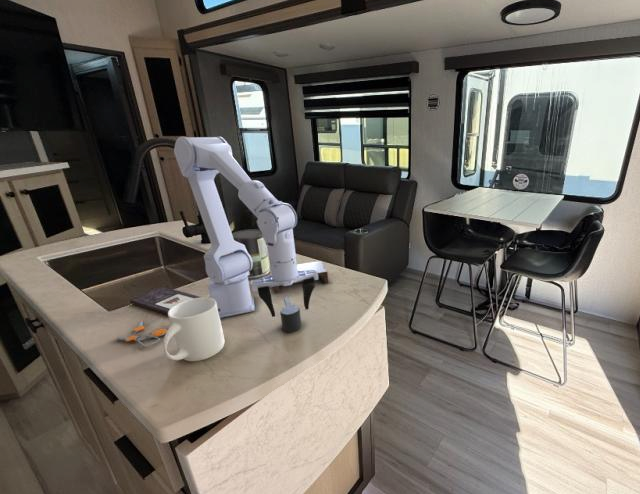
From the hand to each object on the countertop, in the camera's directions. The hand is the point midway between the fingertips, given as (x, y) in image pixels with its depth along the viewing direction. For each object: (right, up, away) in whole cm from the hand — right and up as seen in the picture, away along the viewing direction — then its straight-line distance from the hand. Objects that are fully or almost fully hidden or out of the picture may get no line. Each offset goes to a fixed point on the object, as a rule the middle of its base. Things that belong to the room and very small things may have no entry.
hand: (290, 311), depth 76 cm
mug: (-17, -8, -8) cm, 21 cm away
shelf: (-6, +5, +26) cm, 27 cm away
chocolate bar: (-39, 0, +13) cm, 41 cm away
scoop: (-1, -4, +4) cm, 5 cm away
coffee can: (-24, +7, +33) cm, 41 cm away
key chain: (-34, -6, -2) cm, 35 cm away
